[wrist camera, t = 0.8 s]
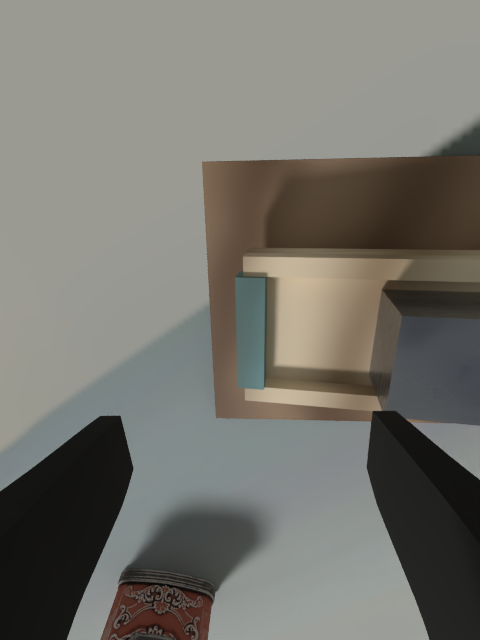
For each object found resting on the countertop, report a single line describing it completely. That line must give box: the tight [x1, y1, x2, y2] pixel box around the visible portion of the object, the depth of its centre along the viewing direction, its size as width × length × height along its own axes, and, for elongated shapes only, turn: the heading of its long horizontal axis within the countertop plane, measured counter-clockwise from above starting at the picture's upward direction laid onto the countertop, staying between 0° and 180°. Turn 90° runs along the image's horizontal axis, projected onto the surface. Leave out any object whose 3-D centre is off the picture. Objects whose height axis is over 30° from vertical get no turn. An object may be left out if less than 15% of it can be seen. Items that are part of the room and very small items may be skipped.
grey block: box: [369, 289, 480, 425], centre depth 12 cm, size 5×4×3 cm
